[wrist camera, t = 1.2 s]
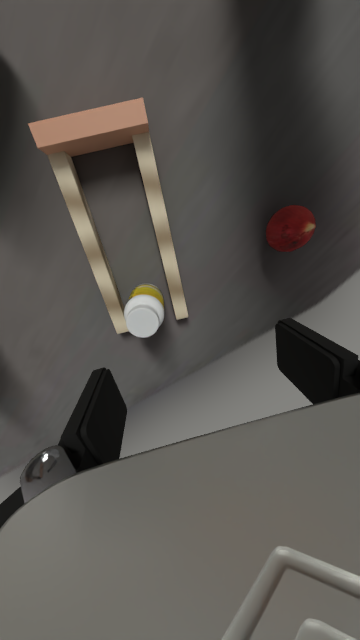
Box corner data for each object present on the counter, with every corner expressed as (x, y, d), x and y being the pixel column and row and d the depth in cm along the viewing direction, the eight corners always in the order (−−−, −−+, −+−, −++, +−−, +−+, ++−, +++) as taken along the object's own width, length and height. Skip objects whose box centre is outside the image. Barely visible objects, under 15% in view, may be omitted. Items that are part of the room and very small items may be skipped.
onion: (277, 255, 33) (313, 262, 25) (249, 239, 31) (277, 241, 24) (300, 220, 31) (344, 215, 23) (270, 201, 29) (308, 189, 22)
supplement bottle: (131, 280, 32) (121, 299, 23) (165, 285, 32) (168, 304, 24) (129, 312, 34) (119, 340, 25) (161, 315, 35) (162, 344, 26)
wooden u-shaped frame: (47, 140, 24) (27, 123, 20) (144, 118, 24) (142, 97, 20) (119, 328, 35) (115, 339, 31) (186, 312, 35) (190, 321, 31)
